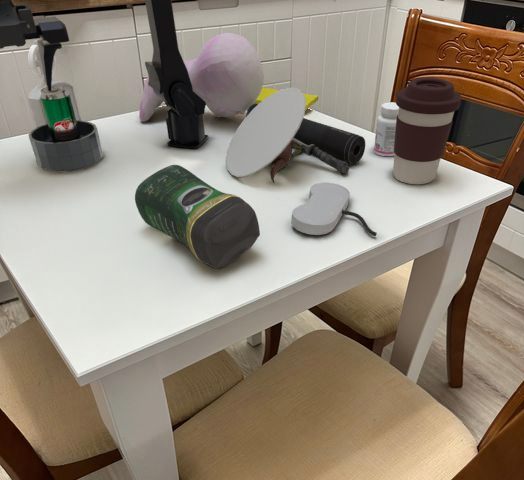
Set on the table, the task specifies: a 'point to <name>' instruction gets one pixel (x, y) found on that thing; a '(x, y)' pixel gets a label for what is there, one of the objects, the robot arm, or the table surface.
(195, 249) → the coffee jar
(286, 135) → the round grey base figurine
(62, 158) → the grey ribbed bowl
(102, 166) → the table surface
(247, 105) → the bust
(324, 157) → the knife
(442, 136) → the coffee cup
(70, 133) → the soda can
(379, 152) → the pill bottle
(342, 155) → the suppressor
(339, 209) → the game controller
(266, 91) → the sign
